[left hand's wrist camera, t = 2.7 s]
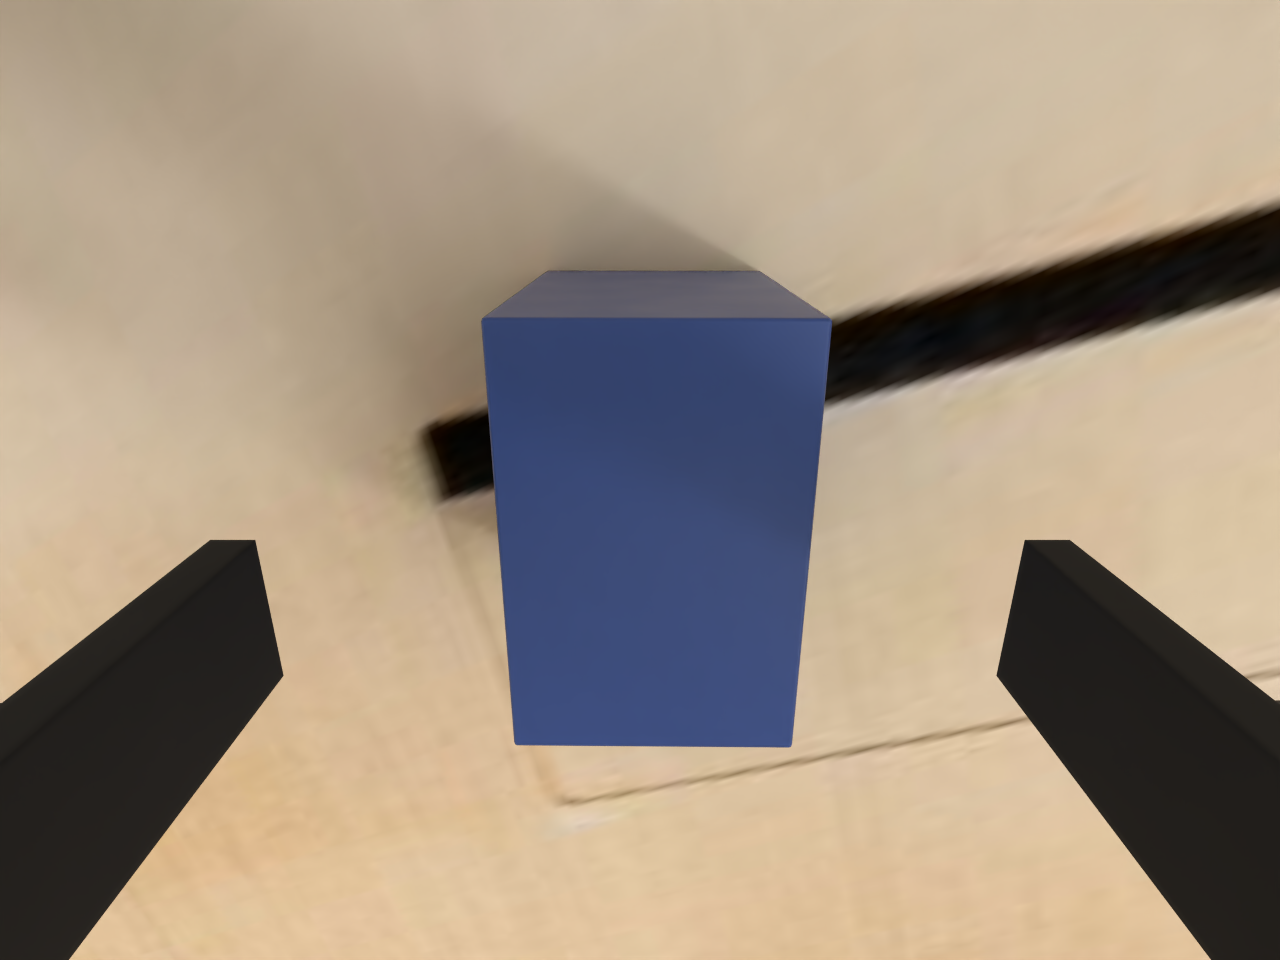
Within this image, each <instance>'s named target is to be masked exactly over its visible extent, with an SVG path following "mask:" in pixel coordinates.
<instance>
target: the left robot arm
mask: <svg viewBox="0 0 1280 960" xmlns="http://www.w3.org/2000/svg"><path fill="white" fill-rule="evenodd" d="M282 677H283V671H282V666H281V662H280V657H279V652H278V647H277V642H276V638H275V633H274V628H273V623H272V618H271V614H270V609H269V604H268V599H267V594H266V590H265V585H264V580H263V575H262V570H261V566H260V561H259V556H258V551H257V546H256V542H255V540H210V541H208V542H207V543H206V544H205V545H203V546H202V547H201V548H199V549H198V550H197V551H196V552H194V553H193V554H192V555H191V556H189V557H188V558H187V559H185V560H184V561H183V562H182V563H180V564H179V565H178V566H177V567H175V568H174V569H173V570H171V571H170V572H169V573H168V574H166V575H165V576H164V577H162V578H161V579H160V580H159V581H157V582H156V583H155V584H154V585H152V586H151V587H150V588H148V589H147V590H146V591H145V592H143V593H142V594H141V595H139V596H138V597H137V598H136V599H134V600H133V601H132V602H131V603H129V604H128V605H127V606H125V607H124V608H123V609H122V610H120V611H119V612H118V613H116V614H115V615H114V616H113V617H111V618H110V619H109V620H108V621H106V622H105V623H104V624H102V625H101V626H100V627H99V628H97V629H96V630H95V631H93V632H92V633H91V634H90V635H88V636H87V637H86V638H85V639H83V640H82V641H81V642H79V643H78V644H77V645H76V646H74V647H73V648H72V649H70V650H69V651H68V652H67V653H65V654H64V655H63V656H62V657H60V658H59V659H58V660H56V661H55V662H54V663H53V664H51V665H50V666H49V667H47V668H46V669H45V670H44V671H42V672H41V673H40V674H39V675H37V676H36V677H35V678H33V679H32V680H31V681H30V682H28V683H27V684H26V685H24V686H23V687H22V688H21V689H19V690H18V691H17V692H16V693H14V694H13V695H12V696H10V697H9V698H8V699H7V700H5V701H4V702H3V703H0V960H69V959H70V958H71V956H72V955H73V954H74V952H75V951H76V950H77V948H78V947H79V946H80V944H81V943H82V942H83V940H84V939H85V938H86V936H87V935H88V934H89V932H90V931H91V930H92V928H93V927H94V926H95V924H96V923H97V922H98V920H99V919H100V918H101V916H102V915H103V914H104V913H105V911H106V910H107V909H108V907H109V906H110V905H111V903H112V902H113V901H114V899H115V898H116V897H117V895H118V894H119V893H120V891H121V890H122V889H123V887H124V886H125V885H126V883H127V882H128V881H129V879H130V878H131V877H132V875H133V874H134V873H135V871H136V870H137V869H138V868H139V866H140V865H141V864H142V862H143V861H144V860H145V858H146V857H147V856H148V854H149V853H150V852H151V850H152V849H153V848H154V846H155V845H156V844H157V842H158V841H159V840H160V838H161V837H162V836H163V834H164V833H165V832H166V830H167V829H168V828H169V826H170V825H171V824H172V823H173V821H174V820H175V819H176V817H177V816H178V815H179V813H180V812H181V811H182V809H183V808H184V807H185V805H186V804H187V803H188V801H189V800H190V799H191V797H192V796H193V795H194V793H195V792H196V791H197V789H198V788H199V787H200V785H201V784H202V783H203V781H204V780H205V779H206V778H207V776H208V775H209V774H210V772H211V771H212V770H213V768H214V767H215V766H216V764H217V763H218V762H219V760H220V759H221V758H222V756H223V755H224V754H225V752H226V751H227V750H228V748H229V747H230V746H231V744H232V743H233V742H234V740H235V739H236V738H237V736H238V735H239V734H240V732H241V731H242V730H243V729H244V727H245V726H246V725H247V723H248V722H249V721H250V719H251V718H252V717H253V715H254V714H255V713H256V711H257V710H258V709H259V707H260V706H261V705H262V703H263V702H264V701H265V699H266V698H267V697H268V695H269V694H270V693H271V691H272V690H273V689H274V687H275V686H276V685H277V684H278V682H279V681H280V680H281V678H282ZM997 677H998V678H999V680H1000V681H1001V682H1002V684H1003V685H1004V686H1005V687H1006V689H1007V690H1008V691H1009V693H1010V694H1011V695H1012V697H1013V698H1014V699H1015V701H1016V702H1017V703H1018V705H1019V706H1020V707H1021V709H1022V710H1023V711H1024V713H1025V714H1026V715H1027V717H1028V718H1029V719H1030V721H1031V722H1032V723H1033V725H1034V726H1035V727H1036V729H1037V730H1038V731H1039V733H1040V734H1041V735H1042V736H1043V738H1044V739H1045V740H1046V742H1047V743H1048V744H1049V746H1050V747H1051V748H1052V750H1053V751H1054V752H1055V754H1056V755H1057V756H1058V758H1059V759H1060V760H1061V762H1062V763H1063V764H1064V766H1065V767H1066V768H1067V770H1068V771H1069V772H1070V774H1071V775H1072V776H1073V778H1074V779H1075V780H1076V781H1077V783H1078V784H1079V785H1080V787H1081V788H1082V789H1083V791H1084V792H1085V793H1086V795H1087V796H1088V797H1089V799H1090V800H1091V801H1092V803H1093V804H1094V805H1095V807H1096V808H1097V809H1098V811H1099V812H1100V813H1101V815H1102V816H1103V817H1104V819H1105V820H1106V821H1107V823H1108V824H1109V825H1110V826H1111V828H1112V829H1113V830H1114V832H1115V833H1116V834H1117V836H1118V837H1119V838H1120V840H1121V841H1122V842H1123V844H1124V845H1125V846H1126V848H1127V849H1128V850H1129V852H1130V853H1131V854H1132V856H1133V857H1134V858H1135V860H1136V861H1137V862H1138V864H1139V865H1140V866H1141V868H1142V869H1143V870H1144V871H1145V873H1146V874H1147V875H1148V877H1149V878H1150V879H1151V881H1152V882H1153V883H1154V885H1155V886H1156V887H1157V889H1158V890H1159V891H1160V893H1161V894H1162V895H1163V897H1164V898H1165V899H1166V901H1167V902H1168V903H1169V905H1170V906H1171V907H1172V909H1173V910H1174V911H1175V913H1176V914H1177V915H1178V916H1179V918H1180V919H1181V920H1182V922H1183V923H1184V924H1185V926H1186V927H1187V928H1188V930H1189V931H1190V932H1191V934H1192V935H1193V936H1194V938H1195V939H1196V940H1197V942H1198V943H1199V944H1200V946H1201V947H1202V948H1203V950H1204V951H1205V952H1206V954H1207V955H1208V956H1209V958H1210V959H1211V960H1280V701H1275V700H1273V699H1272V698H1271V697H1270V696H1268V695H1267V694H1266V693H1264V692H1263V691H1262V690H1261V689H1259V688H1258V687H1257V686H1256V685H1254V684H1253V683H1252V682H1250V681H1249V680H1248V679H1247V678H1245V677H1244V676H1243V675H1241V674H1240V673H1239V672H1238V671H1236V670H1235V669H1234V668H1233V667H1231V666H1230V665H1229V664H1227V663H1226V662H1225V661H1224V660H1222V659H1221V658H1220V657H1218V656H1217V655H1216V654H1215V653H1213V652H1212V651H1211V650H1210V649H1208V648H1207V647H1206V646H1204V645H1203V644H1202V643H1201V642H1199V641H1198V640H1197V639H1195V638H1194V637H1193V636H1192V635H1190V634H1189V633H1188V632H1187V631H1185V630H1184V629H1183V628H1181V627H1180V626H1179V625H1178V624H1176V623H1175V622H1174V621H1172V620H1171V619H1170V618H1169V617H1167V616H1166V615H1165V614H1164V613H1162V612H1161V611H1160V610H1158V609H1157V608H1156V607H1155V606H1153V605H1152V604H1151V603H1149V602H1148V601H1147V600H1146V599H1144V598H1143V597H1142V596H1141V595H1139V594H1138V593H1137V592H1135V591H1134V590H1133V589H1132V588H1130V587H1129V586H1128V585H1126V584H1125V583H1124V582H1123V581H1121V580H1120V579H1119V578H1118V577H1116V576H1115V575H1114V574H1112V573H1111V572H1110V571H1109V570H1107V569H1106V568H1105V567H1103V566H1102V565H1101V564H1100V563H1098V562H1097V561H1096V560H1095V559H1093V558H1092V557H1091V556H1089V555H1088V554H1087V553H1086V552H1084V551H1083V550H1082V549H1081V548H1079V547H1078V546H1077V545H1075V544H1074V543H1073V542H1072V541H1070V540H1025V542H1024V546H1023V551H1022V556H1021V561H1020V566H1019V570H1018V575H1017V580H1016V585H1015V590H1014V594H1013V599H1012V604H1011V609H1010V614H1009V618H1008V623H1007V628H1006V633H1005V638H1004V642H1003V647H1002V652H1001V657H1000V662H999V666H998V671H997Z"/></svg>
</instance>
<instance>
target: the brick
mask: <svg viewBox="0 0 1280 960" xmlns="http://www.w3.org/2000/svg"><path fill="white" fill-rule="evenodd" d="M481 324H482V337H483V350H484V362H485V375H486V388H487V400H488V413H489V426H490V439H491V451H492V464H493V477H494V489H495V502H496V515H497V528H498V540H499V553H500V566H501V578H502V591H503V604H504V617H505V629H506V642H507V655H508V667H509V680H510V693H511V706H512V718H513V731H514V742H515V744H516V745H559V746H680V747H791V745H792V737H793V727H794V716H795V706H796V695H797V685H798V674H799V664H800V653H801V643H802V632H803V622H804V611H805V601H806V590H807V580H808V569H809V559H810V548H811V538H812V527H813V517H814V506H815V496H816V485H817V474H818V464H819V453H820V443H821V432H822V422H823V411H824V401H825V390H826V380H827V369H828V359H829V348H830V338H831V327H832V320H831V319H830V318H829V317H827V316H826V315H824V314H823V313H821V312H820V311H818V310H817V309H815V308H814V307H812V306H811V305H809V304H808V303H806V302H805V301H803V300H802V299H801V298H799V297H798V296H796V295H795V294H793V293H792V292H790V291H789V290H787V289H786V288H784V287H783V286H781V285H780V284H778V283H777V282H775V281H774V280H772V279H771V278H769V277H768V276H766V275H765V274H763V273H762V272H760V271H547V272H545V273H544V274H543V275H541V276H540V277H538V278H537V279H536V280H534V281H533V282H532V283H530V284H529V285H527V286H526V287H525V288H523V289H522V290H521V291H519V292H518V293H516V294H515V295H514V296H512V297H511V298H510V299H508V300H507V301H505V302H504V303H503V304H501V305H500V306H499V307H497V308H496V309H494V310H493V311H492V312H490V313H489V314H488V315H486V316H485V317H483V318H482V321H481Z"/></svg>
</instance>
